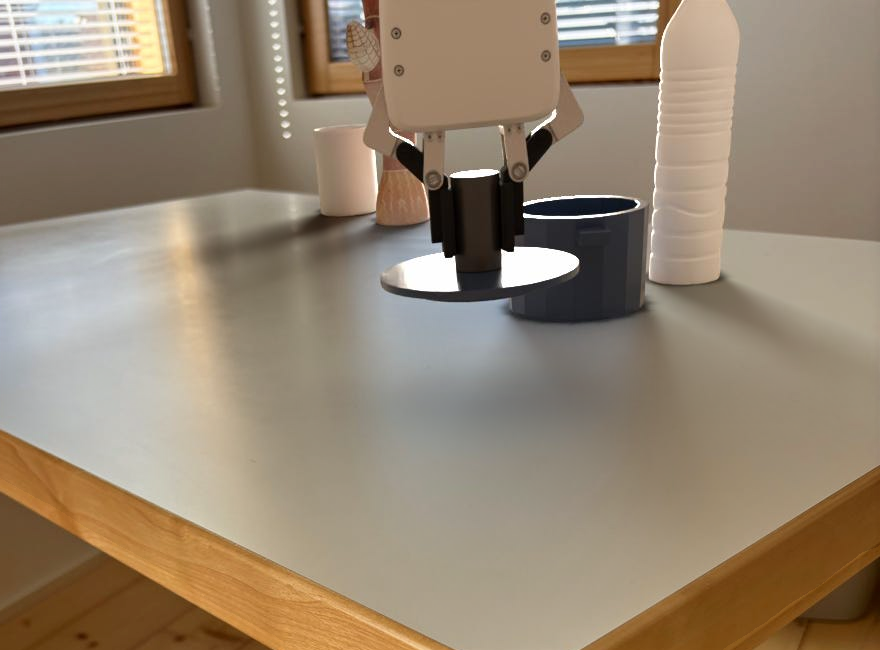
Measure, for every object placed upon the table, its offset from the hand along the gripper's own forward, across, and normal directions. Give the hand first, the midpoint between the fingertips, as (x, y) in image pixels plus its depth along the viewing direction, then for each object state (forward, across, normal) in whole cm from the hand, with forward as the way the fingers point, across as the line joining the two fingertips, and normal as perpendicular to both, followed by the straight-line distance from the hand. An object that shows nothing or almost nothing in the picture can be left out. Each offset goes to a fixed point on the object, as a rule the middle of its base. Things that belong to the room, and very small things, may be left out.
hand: (477, 248), depth 65 cm
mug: (+10, +12, -94) cm, 95 cm away
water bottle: (+11, -22, -34) cm, 42 cm away
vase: (+11, +5, -80) cm, 81 cm away
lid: (+2, 0, 0) cm, 2 cm away
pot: (+10, -10, -25) cm, 29 cm away
